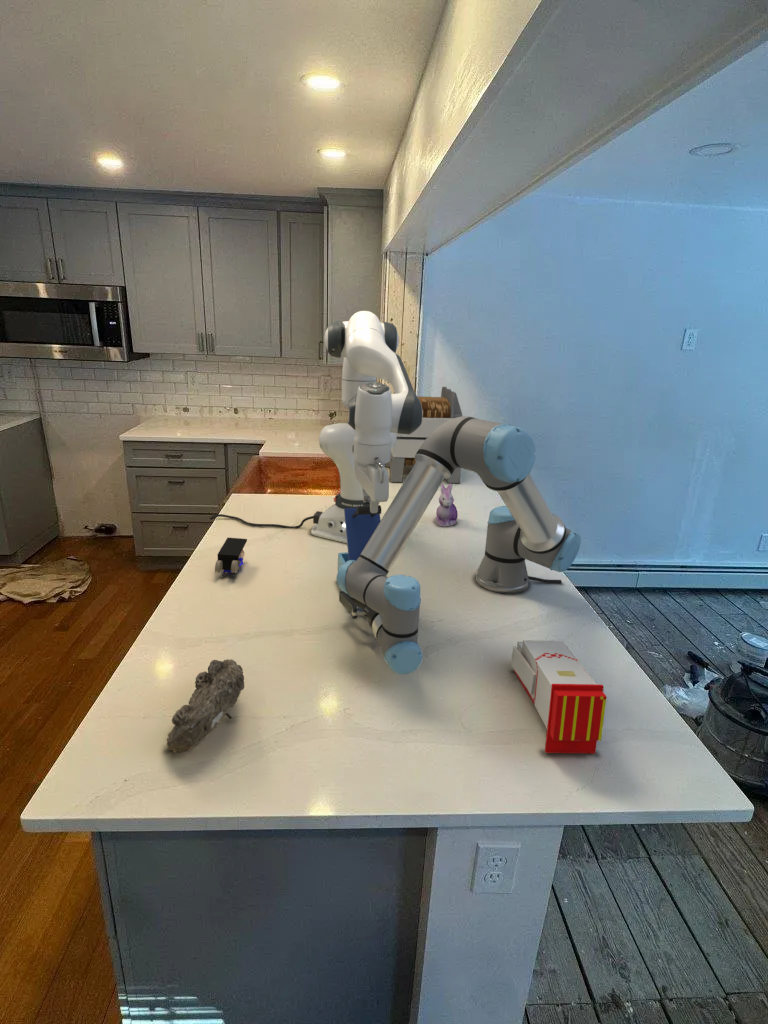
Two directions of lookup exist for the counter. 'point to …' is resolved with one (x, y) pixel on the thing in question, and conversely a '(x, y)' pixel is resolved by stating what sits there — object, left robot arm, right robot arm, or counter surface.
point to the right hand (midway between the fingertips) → (364, 579)
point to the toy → (561, 695)
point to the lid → (359, 528)
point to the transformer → (424, 433)
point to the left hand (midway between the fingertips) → (370, 507)
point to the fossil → (206, 705)
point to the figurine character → (230, 556)
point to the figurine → (446, 508)
